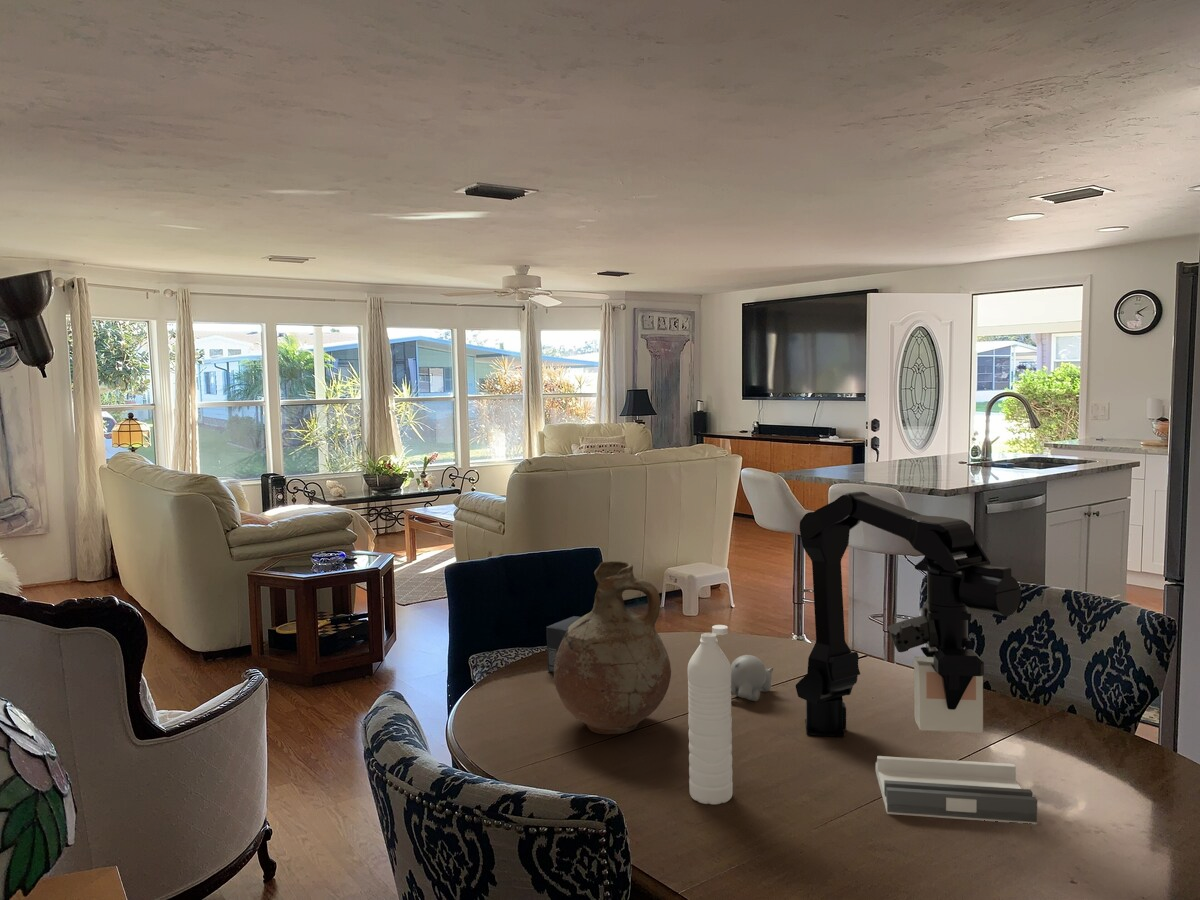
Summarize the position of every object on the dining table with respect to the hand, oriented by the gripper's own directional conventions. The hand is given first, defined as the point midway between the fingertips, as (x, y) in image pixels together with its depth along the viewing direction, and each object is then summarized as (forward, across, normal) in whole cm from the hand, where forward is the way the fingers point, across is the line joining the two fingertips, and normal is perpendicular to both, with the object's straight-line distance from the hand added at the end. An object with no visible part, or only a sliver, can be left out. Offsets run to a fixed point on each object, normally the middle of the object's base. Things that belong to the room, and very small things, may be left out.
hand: (947, 703), depth 132 cm
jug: (+12, -17, -55) cm, 59 cm away
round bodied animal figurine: (+13, -35, -30) cm, 48 cm away
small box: (+12, -48, -70) cm, 86 cm away
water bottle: (+13, +7, -36) cm, 38 cm away
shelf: (+13, +4, 0) cm, 13 cm away
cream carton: (+4, 0, 0) cm, 4 cm away
